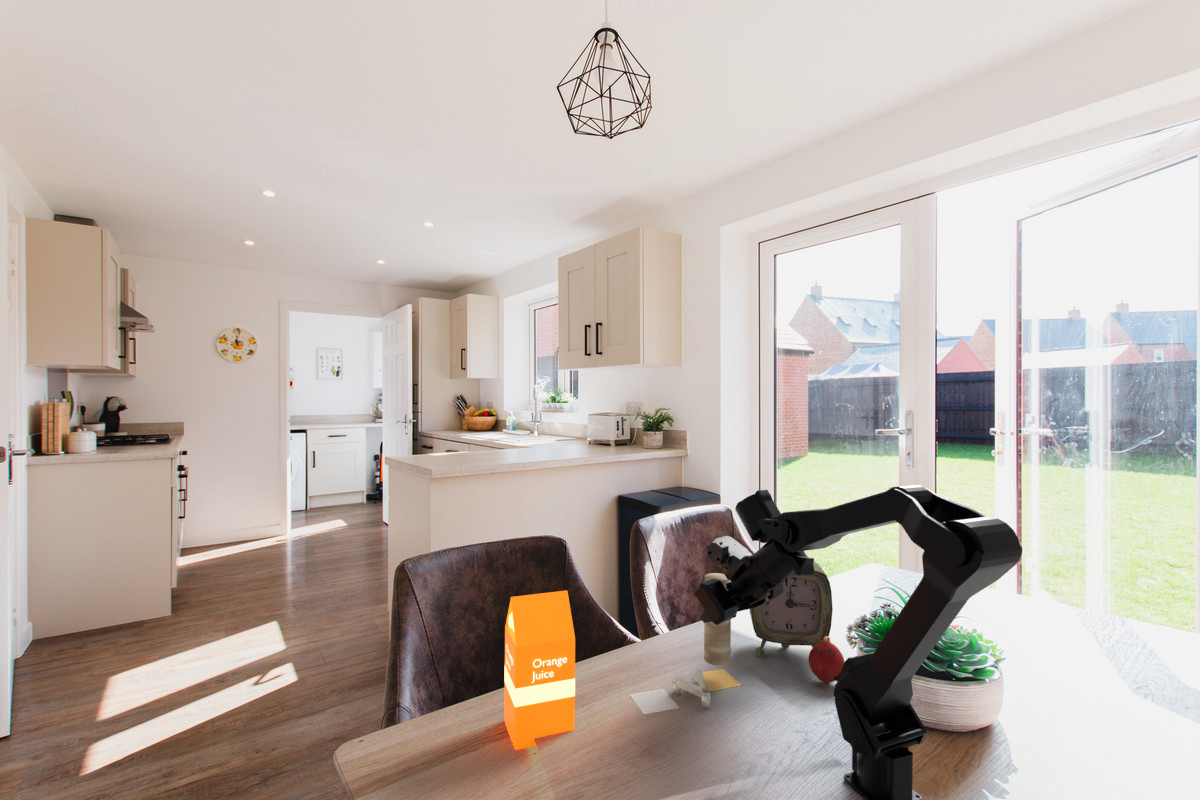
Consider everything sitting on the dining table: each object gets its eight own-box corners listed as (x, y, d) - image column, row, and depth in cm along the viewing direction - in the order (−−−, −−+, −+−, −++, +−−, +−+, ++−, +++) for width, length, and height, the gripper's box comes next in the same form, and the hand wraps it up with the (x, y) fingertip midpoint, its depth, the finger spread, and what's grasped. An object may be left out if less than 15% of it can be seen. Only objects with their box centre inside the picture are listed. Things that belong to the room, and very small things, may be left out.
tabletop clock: (750, 660, 106) (751, 526, 105) (746, 639, 114) (747, 516, 114) (831, 667, 103) (833, 530, 103) (821, 645, 112) (823, 520, 112)
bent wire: (723, 707, 88) (723, 690, 88) (689, 713, 86) (689, 697, 86) (700, 683, 95) (700, 669, 95) (668, 689, 93) (668, 674, 93)
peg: (735, 663, 94) (736, 579, 94) (712, 667, 93) (712, 582, 93) (721, 652, 99) (722, 572, 99) (699, 655, 97) (699, 574, 97)
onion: (847, 694, 94) (848, 646, 94) (811, 690, 95) (811, 642, 95) (840, 677, 99) (840, 631, 99) (805, 673, 100) (806, 628, 100)
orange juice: (503, 720, 85) (504, 588, 85) (559, 709, 88) (561, 582, 88) (514, 751, 78) (515, 606, 78) (575, 738, 81) (576, 599, 81)
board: (773, 717, 87) (773, 710, 87) (654, 741, 80) (654, 733, 80) (725, 674, 100) (725, 668, 100) (619, 692, 93) (619, 685, 93)
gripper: (767, 516, 99) (714, 565, 107) (704, 532, 86) (649, 587, 94) (810, 570, 94) (751, 618, 102) (749, 597, 81) (687, 649, 89)
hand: (710, 616), depth 97 cm, fingers closed on peg, 4 cm apart
